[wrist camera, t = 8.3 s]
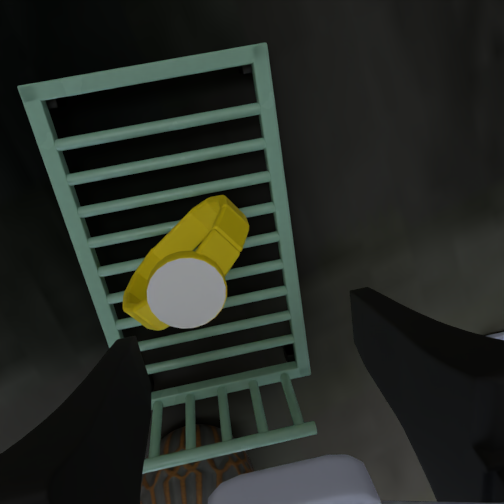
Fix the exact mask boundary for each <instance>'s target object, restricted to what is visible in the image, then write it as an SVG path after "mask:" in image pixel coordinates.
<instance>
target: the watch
mask: <svg viewBox="0 0 504 504" xmlns="http://www.w3.org/2000/svg"><path fill="white" fill-rule="evenodd" d="M248 232H249V224H248V221H247V219H246V216H245V215H244V214H243V213H242V212H241V211H240V210H239V209H238V208H237V207H236V206H235V205H234V204H233V203H232V202H231V201H230V200H229V199H228V198H227V197H226V196H224V195H219V196H213V197H209V198H207V199H205V200H204V201H202V202H201V203H199V204H198V205H196V206H195V207H193V208H192V209H191V210H190V211H189V212H188V213H187V214H186V215H185V216H184V217H183V218H182V219H181V221H180V222H179V223H178V224H177V225H176V226H175V227H174V228H173V229H172V230H171V231H170V232H169V233H168V234H167V235H166V236H165V237H164V238H163V239H162V240H161V241H160V242H159V243H158V244H157V245H156V246H155V247H154V248H152V249H151V250H150V252H149V253H148V254H147V256H146V257H145V258H144V260H143V261H142V263H141V264H140V265H139V267H138V268H137V270H136V271H135V272H134V273H135V274H134V275H133V276H132V278H131V280H130V282H129V284H128V286H127V288H126V290H125V292H124V295H123V310H124V312H126V313H127V314H129V315H130V316H131V317H133V318H134V319H135V320H137V321H138V322H139V323H141V324H142V325H143V326H145V327H146V328H147V329H152V330H157V331H159V330H164V329H166V328H168V327H169V326H172V327H177V328H182V329H183V328H195V327H198V326H201V325H204V324H207V323H208V322H209V321H211V320H212V319H214V318H215V317H216V316H217V315H218V314H219V312H220V311H221V310H222V309H223V307H224V304H225V301H226V298H227V284H226V280H225V276H226V275H227V273H228V272H229V270H230V269H231V267H232V266H233V264H234V263H235V261H236V260H237V258H238V257H239V255H240V252H241V251H242V249H243V246H244V243H245V240H246V237H247V234H248ZM201 242H202V243H201ZM200 243H201V244H200ZM199 244H200V245H199ZM198 245H199V247H198V248H197V249H196V251H193V250H194V249H195V248H196V247H197V246H198Z"/></svg>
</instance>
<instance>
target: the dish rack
mask: <svg viewBox="0 0 504 504" xmlns="http://www.w3.org/2000/svg"><path fill="white" fill-rule="evenodd" d="M237 66H238V67H239V73H240V74H243V75H246V74H252V73H253V80H254V87H255V94H256V100H257V103H252V104H246V105H241V106H236V107H230V108H225V109H219V110H214V111H208V112H203V113H197V114H192V115H186V116H181V117H175V118H170V119H165V120H159V121H154V122H148V123H143V124H137V125H132V126H126V127H121V128H115V129H110V130H105V131H99V132H94V133H88V134H83V135H77V136H72V137H66V138H61V139H58V137H57V134H56V131H55V128H54V125H53V122H52V119H51V116H50V113H49V110H51V109H57V108H59V107H62V106H64V105H66V103H65V99H64V97H68V96H74V95H79V94H85V93H91V92H96V91H102V90H107V89H113V88H119V87H124V86H130V85H136V84H141V83H147V82H152V81H158V80H164V79H169V78H175V77H181V76H186V75H192V74H197V73H203V72H209V71H214V70H220V69H225V68H231V67H237ZM18 90H19V93H20V96H21V99H22V102H23V104H24V107H25V110H26V113H27V116H28V119H29V121H30V124H31V127H32V130H33V133H34V136H35V138H36V141H37V144H38V147H39V150H40V153H41V156H42V158H43V161H44V164H45V167H46V170H47V173H48V175H49V178H50V181H51V184H52V187H53V190H54V192H55V195H56V198H57V201H58V204H59V207H60V209H61V212H62V215H63V218H64V221H65V224H66V227H67V229H68V232H69V235H70V238H71V241H72V244H73V246H74V249H75V252H76V255H77V258H78V261H79V263H80V266H81V269H82V272H83V275H84V278H85V281H86V283H87V286H88V289H89V292H90V295H91V298H92V300H93V303H94V306H95V309H96V312H97V315H98V317H99V320H100V323H101V326H102V329H103V332H104V334H105V337H106V340H107V343H108V346H109V349H110V347H111V346H112V345H113V344H114V342H115V341H116V340H117V339H121V338H124V336H123V333H122V330H121V329H126V328H131V327H136V326H140V325H142V324H141V323H139V322H138V321H137V320H135V319H134V318H133V317H129V318H125V319H120V320H118V318H117V315H116V312H115V309H114V306H113V304H114V303H119V302H123V295H124V292H125V291H122V292H117V293H112V294H109V291H108V288H107V285H106V282H105V279H104V277H105V276H110V275H115V274H120V273H125V272H130V271H135V270H137V268H138V267H139V265H140V264H141V263H142V261H143V260H144V258H141V259H136V260H131V261H126V262H121V263H116V264H111V265H106V266H101V267H100V264H99V261H98V257H97V254H96V251H95V248H97V247H102V246H107V245H112V244H117V243H122V242H127V241H132V240H137V239H142V238H147V237H152V236H157V235H162V234H167V233H169V232H170V231H171V230H172V229H173V228H174V227H175V226H176V225H177V224H178V223H179V222H180V221H181V220H177V221H172V222H167V223H162V224H157V225H152V226H147V227H142V228H137V229H132V230H127V231H122V232H116V233H111V234H106V235H101V236H96V237H91V236H90V233H89V230H88V227H87V224H86V221H85V217H90V216H95V215H100V214H105V213H111V212H116V211H121V210H126V209H131V208H136V207H141V206H147V205H152V204H157V203H162V202H167V201H172V200H178V199H183V198H188V197H193V196H198V195H203V194H208V193H214V192H219V191H224V190H229V189H234V188H239V187H245V186H250V185H255V184H260V183H265V182H269V188H270V195H271V201H272V202H269V203H264V204H259V205H254V206H249V207H243V208H238V209H239V210H240V211H241V212H242V213H243V214H244V215H245V216H246V218H248V217H253V216H258V215H263V214H268V213H273V215H274V221H275V228H276V231H275V232H270V233H265V234H260V235H255V236H250V237H246V240H245V243H244V246H243V248H248V247H253V246H258V245H263V244H268V243H273V242H278V248H279V255H280V259H278V260H273V261H268V262H263V263H259V264H254V265H249V266H244V267H239V268H234V269H230V270H229V272H228V273H227V275H226V276H225V280H231V279H236V278H241V277H245V276H250V275H255V274H260V273H265V272H270V271H275V270H279V269H282V275H283V282H284V285H283V286H278V287H274V288H269V289H264V290H259V291H254V292H250V293H245V294H240V295H235V296H230V297H227V298H226V301H225V304H224V307H223V308H226V307H231V306H236V305H241V304H245V303H250V302H255V301H260V300H264V299H269V298H274V297H279V296H284V295H285V296H286V302H287V309H288V310H286V311H282V312H277V313H272V314H268V315H263V316H258V317H253V318H249V319H244V320H239V321H234V322H230V323H225V324H220V325H216V326H211V327H206V328H201V329H197V330H192V331H187V332H182V333H178V334H173V335H168V336H164V337H159V338H154V339H149V340H145V341H140V342H138V345H139V348H140V351H145V350H150V349H154V348H159V347H164V346H168V345H173V344H178V343H183V342H187V341H192V340H197V339H201V338H206V337H211V336H215V335H220V334H225V333H230V332H234V331H239V330H244V329H248V328H253V327H258V326H262V325H267V324H272V323H276V322H281V321H286V320H289V322H290V329H291V334H288V335H284V336H279V337H274V338H270V339H265V340H260V341H256V342H251V343H246V344H242V345H237V346H232V347H228V348H223V349H218V350H214V351H209V352H204V353H200V354H195V355H191V356H186V357H181V358H177V359H172V360H167V361H163V362H158V363H153V364H149V365H145V367H146V370H147V373H148V376H149V379H150V382H151V410H153V415H152V426H151V437H150V448H149V458H147V459H144V466H143V472H142V474H145V473H149V472H153V471H158V470H162V469H167V468H171V467H175V466H180V465H184V464H188V463H193V462H197V461H201V460H206V459H210V458H215V457H219V456H223V455H228V454H232V453H236V452H241V451H245V450H250V449H254V448H258V447H263V446H267V445H271V444H276V443H280V442H285V441H289V440H293V439H298V438H302V437H306V436H311V435H315V434H317V428H316V424H315V422H314V421H310V422H306V423H304V420H303V417H302V414H301V411H300V408H299V405H298V402H297V399H296V396H295V393H294V390H293V387H292V383H291V380H290V379H294V378H299V377H303V376H308V375H311V370H310V362H309V355H308V347H307V340H306V332H305V325H304V317H303V310H302V302H301V295H300V287H299V280H298V272H297V264H296V257H295V249H294V242H293V234H292V227H291V219H290V212H289V204H288V197H287V189H286V182H285V174H284V167H283V159H282V151H281V144H280V136H279V129H278V121H277V114H276V106H275V99H274V91H273V84H272V76H271V69H270V61H269V54H268V46H267V43H259V44H253V45H248V46H242V47H236V48H231V49H225V50H219V51H213V52H208V53H202V54H196V55H191V56H185V57H179V58H174V59H168V60H162V61H156V62H151V63H145V64H139V65H134V66H128V67H122V68H117V69H111V70H105V71H100V72H94V73H88V74H82V75H77V76H71V77H65V78H60V79H54V80H48V81H43V82H37V83H31V84H25V85H20V86H18ZM254 115H259V121H260V127H261V134H262V138H258V139H253V140H248V141H242V142H237V143H232V144H226V145H221V146H216V147H210V148H205V149H200V150H194V151H189V152H184V153H178V154H173V155H168V156H162V157H157V158H152V159H147V160H141V161H136V162H131V163H125V164H120V165H115V166H109V167H104V168H99V169H93V170H88V171H83V172H77V173H72V174H70V173H69V170H68V167H67V164H66V161H65V158H64V155H63V152H62V151H65V150H70V149H76V148H81V147H86V146H92V145H97V144H103V143H108V142H114V141H119V140H124V139H130V138H135V137H141V136H146V135H151V134H157V133H162V132H168V131H173V130H178V129H184V128H189V127H195V126H200V125H205V124H211V123H216V122H222V121H227V120H233V119H238V118H243V117H249V116H254ZM262 149H264V154H265V161H266V168H267V171H263V172H258V173H253V174H248V175H243V176H238V177H232V178H227V179H222V180H217V181H212V182H206V183H201V184H196V185H191V186H186V187H180V188H175V189H170V190H165V191H160V192H154V193H149V194H144V195H139V196H134V197H128V198H123V199H118V200H113V201H108V202H102V203H97V204H92V205H87V206H82V207H81V206H80V203H79V200H78V197H77V194H76V191H75V188H74V185H78V184H83V183H88V182H94V181H99V180H104V179H109V178H115V177H120V176H125V175H131V174H136V173H141V172H146V171H152V170H157V169H162V168H168V167H173V166H178V165H183V164H189V163H194V162H199V161H204V160H210V159H215V158H220V157H226V156H231V155H236V154H241V153H247V152H252V151H257V150H262ZM197 248H198V247H196V248H195V249H194V250H193V251H196V249H197ZM282 345H283V349H284V355H285V358H286V361H287V363H283V364H278V365H273V366H269V367H264V368H260V369H255V370H250V371H246V372H241V373H237V374H232V375H228V376H223V377H218V378H214V379H209V380H205V381H200V382H196V383H191V384H186V385H182V386H177V387H173V388H168V389H164V390H159V391H154V392H153V390H154V382H153V378H152V375H151V374H153V373H157V372H162V371H167V370H171V369H176V368H181V367H185V366H190V365H194V364H199V363H204V362H208V361H213V360H218V359H222V358H227V357H232V356H236V355H241V354H245V353H250V352H255V351H259V350H264V349H269V348H273V347H278V346H282ZM276 382H281V383H282V386H283V389H284V393H285V396H286V400H287V403H288V406H289V410H290V413H291V416H292V420H293V423H294V425H293V426H288V427H284V428H279V429H275V430H271V431H268V426H267V422H266V417H265V413H264V408H263V404H262V399H261V395H260V390H259V386H262V385H267V384H272V383H276ZM249 388H250V393H251V398H252V403H253V409H254V414H255V419H256V424H257V429H258V433H257V434H253V435H248V436H244V437H240V438H235V439H232V431H231V423H230V415H229V407H228V399H227V393H231V392H235V391H240V390H244V389H249ZM217 395H218V404H219V414H220V425H221V435H222V442H218V443H213V444H209V445H204V446H200V447H196V423H195V400H199V399H204V398H208V397H213V396H217ZM181 403H185V416H186V450H182V451H178V452H174V453H169V454H165V455H160V441H161V426H162V410H163V407H167V406H172V405H176V404H181Z"/></svg>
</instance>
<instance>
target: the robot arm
mask: <svg viewBox="0 0 504 504" xmlns="http://www.w3.org/2000/svg"><path fill="white" fill-rule="evenodd" d="M350 299H351V311H352V323H353V336H354V343H355V345H356V347H357V349H358V352H359V354H360V356H361V358H362V361H363V363H364V365H365V367H366V368H367V370H368V372H369V373H370V375H371V377H372V378H373V380H374V381H375V383H376V385H377V386H378V388H379V389H380V391H381V392H382V394H383V396H384V397H385V399H386V400H387V402H388V404H389V405H390V407H391V408H392V410H393V411H394V413H395V415H396V416H397V418H398V420H399V421H400V423H401V425H402V427H403V428H404V430H405V433H406V435H407V437H408V439H409V441H410V443H411V445H412V447H413V449H414V451H415V453H416V455H417V457H418V459H419V462H420V464H421V466H422V468H423V470H424V472H425V475H426V477H427V479H428V481H429V483H430V485H431V488H432V490H433V492H434V495H435V497H436V499H437V501H438V502H427V501H381V500H380V498H379V496H378V493H377V491H376V489H375V486H374V484H373V482H372V480H371V477H370V475H369V473H368V471H367V469H366V467H365V465H364V463H363V461H360V460H358V459H356V458H354V457H352V456H350V455H348V454H336V455H324V456H319V457H315V458H310V459H306V460H302V461H297V462H293V463H289V464H284V465H280V466H276V467H271V468H267V469H262V470H258V471H254V472H249V473H245V474H241V475H238V476H236V477H233V478H231V479H229V480H227V481H224V482H222V483H221V484H220V485H219V486H218V487H217V488H216V489H215V490H214V492H213V493H212V494H211V495H210V496H209V497H208V504H504V332H500V333H496V334H491V335H487V336H483V335H479V334H475V333H472V332H468V331H465V330H462V329H459V328H456V327H453V326H450V325H447V324H444V323H441V322H439V321H436V320H434V319H432V318H429V317H427V316H425V315H422V314H420V313H418V312H416V311H414V310H412V309H409V308H407V307H405V306H403V305H401V304H399V303H398V302H396V301H394V300H392V299H390V298H388V297H386V296H384V295H382V294H381V293H379V292H377V291H375V290H373V289H371V288H369V287H365V288H360V289H356V290H351V291H350ZM150 418H151V382H150V379H149V376H148V373H147V370H146V367H145V364H144V360H143V357H142V354H141V351H140V348H139V345H138V342H137V338H136V336H131V337H126V338H121V339H117V340H116V341H115V342H114V344H113V345H112V346H111V347H110V349H109V350H108V351H107V352H106V354H105V355H104V356H103V357H102V359H101V360H100V361H99V363H98V364H97V365H96V366H95V367H94V369H93V370H92V371H91V372H90V374H89V375H88V376H87V377H86V378H85V380H84V381H83V382H82V383H81V384H80V385H79V386H78V387H77V388H76V390H75V391H74V392H73V393H72V394H71V395H70V396H69V397H68V398H67V399H66V400H65V401H64V402H63V403H62V404H61V405H60V406H59V407H58V408H57V409H56V410H55V411H54V412H53V413H52V414H51V415H50V416H49V417H48V418H47V419H45V420H44V421H43V422H42V423H41V424H40V425H38V426H37V427H36V428H35V429H33V430H32V431H31V432H30V433H28V434H27V435H26V436H25V437H23V438H22V439H21V440H20V441H18V442H17V443H16V444H14V445H13V446H11V447H10V448H9V449H7V450H6V451H4V452H3V453H1V454H0V504H140V496H141V481H142V472H143V466H144V459H145V452H146V446H147V439H148V432H149V425H150Z"/></svg>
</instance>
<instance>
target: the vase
mask: <svg viewBox="0 0 504 504" xmlns="http://www.w3.org/2000/svg"><path fill="white" fill-rule="evenodd" d="M232 439H235V438H234V437H233V436H232ZM218 442H222V435H221V429H220V428H217V427H214V426H210V425H205V424H196V447H200V446H204V445H209V444H213V443H218ZM182 450H186V426H184V427H181V428H178V429H176V430H174V431H172V432H170V433H169V434H167V435H166V436H165V437H164V438H162V439H161V441H160V455H165V454H169V453H174V452H178V451H182ZM147 458H149V455H148V457H147ZM147 458H146V459H147ZM249 472H254V469H253V466H252V464H251V461H250V459H249V457H248V455H247V454H246V452H245V451H241V452H236V453H232V454H228V455H223V456H219V457H215V458H210V459H206V460H201V461H197V462H193V463H188V464H184V465H180V466H175V467H171V468H167V469H162V470H158V471H153V472H149V473H145V474H142V481H141V496H140V504H208V497H209V496H210V495H211V494H212V493H213V492H214V490H215V489H216V488H217V487H218V486H219V485H220V484H221V483H222V482H224V481H227V480H229V479H231V478H233V477H236V476H238V475H241V474H245V473H249Z"/></svg>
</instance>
